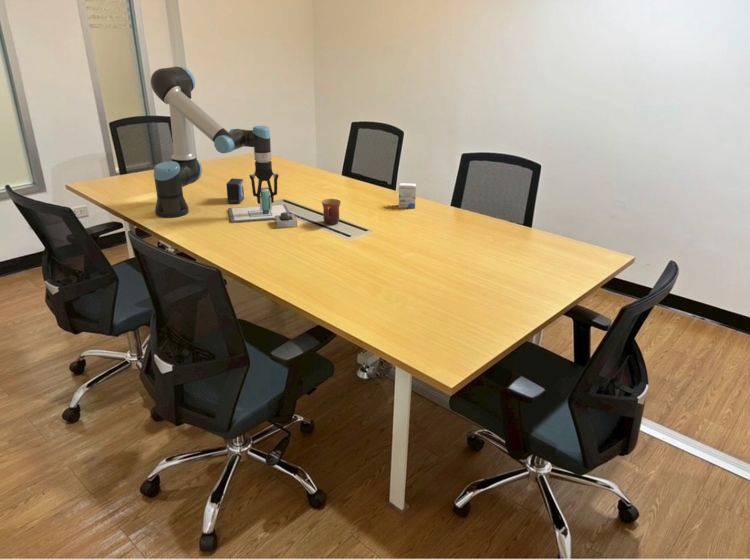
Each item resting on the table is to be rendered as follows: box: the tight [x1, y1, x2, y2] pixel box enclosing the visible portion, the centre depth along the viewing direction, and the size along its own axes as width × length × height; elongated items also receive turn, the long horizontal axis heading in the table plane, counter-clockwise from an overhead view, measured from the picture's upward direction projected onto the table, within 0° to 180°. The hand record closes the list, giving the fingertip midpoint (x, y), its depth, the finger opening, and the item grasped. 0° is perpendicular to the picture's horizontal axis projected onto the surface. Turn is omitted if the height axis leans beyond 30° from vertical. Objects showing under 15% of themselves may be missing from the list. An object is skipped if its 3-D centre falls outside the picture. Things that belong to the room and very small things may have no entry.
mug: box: [321, 198, 342, 226], centre depth 261 cm, size 12×9×10 cm
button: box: [281, 212, 291, 220], centre depth 259 cm, size 4×4×3 cm
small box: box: [225, 178, 245, 205], centre depth 289 cm, size 11×6×10 cm, turn 179°
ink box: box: [397, 182, 417, 209], centre depth 287 cm, size 9×5×12 cm, turn 84°
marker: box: [260, 186, 270, 214], centre depth 269 cm, size 4×4×12 cm
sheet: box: [227, 204, 291, 224], centre depth 273 cm, size 28×20×1 cm
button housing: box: [274, 213, 298, 229], centre depth 260 cm, size 9×9×3 cm
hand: (265, 209), depth 270 cm, fingers closed on marker, 4 cm apart
